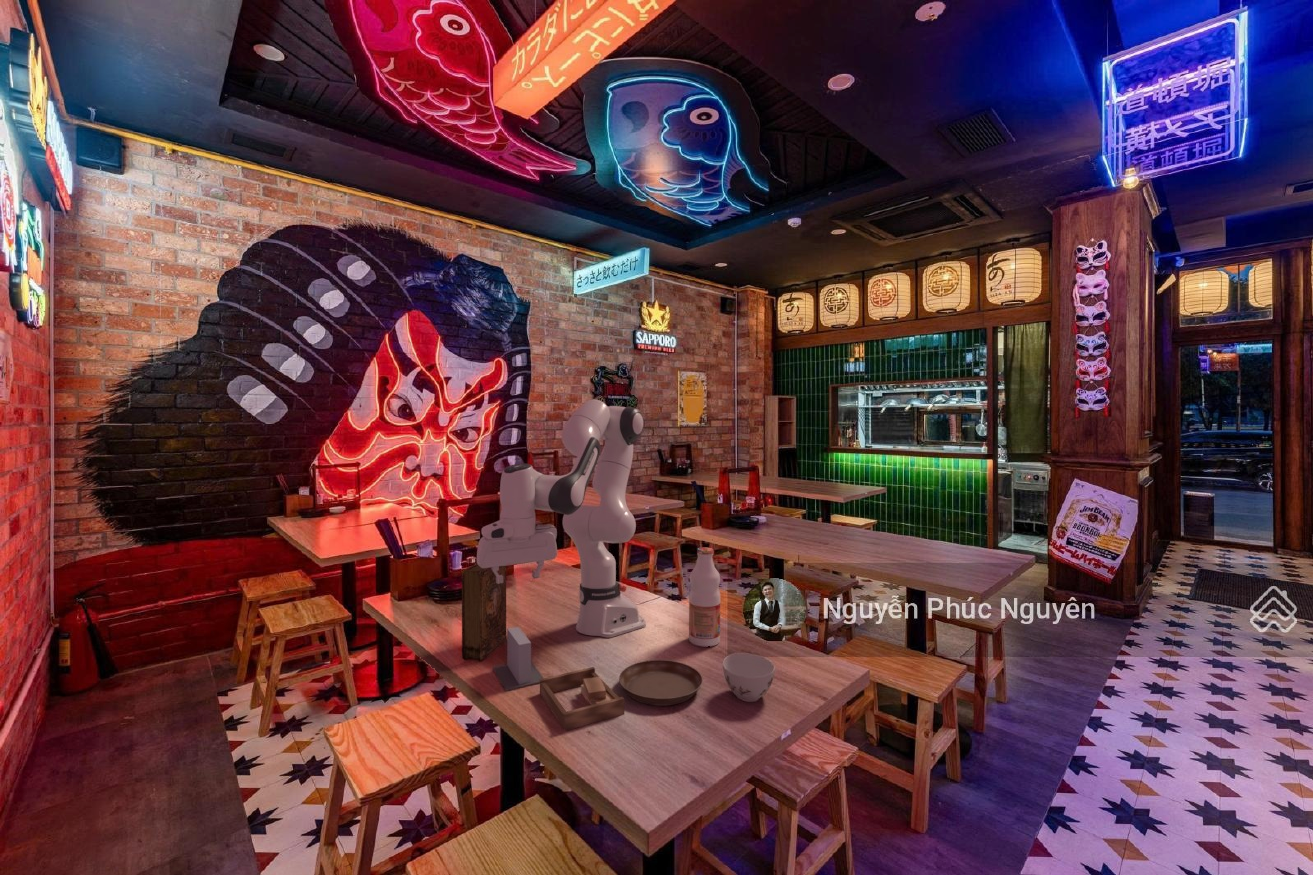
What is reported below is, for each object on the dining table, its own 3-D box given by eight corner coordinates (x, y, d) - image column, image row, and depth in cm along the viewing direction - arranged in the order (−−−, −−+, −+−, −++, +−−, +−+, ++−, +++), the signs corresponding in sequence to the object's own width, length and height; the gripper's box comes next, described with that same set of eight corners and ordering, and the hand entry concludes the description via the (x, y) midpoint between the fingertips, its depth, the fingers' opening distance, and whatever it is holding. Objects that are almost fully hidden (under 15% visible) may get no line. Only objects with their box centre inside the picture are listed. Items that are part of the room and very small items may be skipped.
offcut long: (596, 691, 134) (596, 681, 134) (613, 709, 125) (613, 699, 125) (581, 695, 132) (580, 684, 132) (597, 714, 123) (597, 703, 123)
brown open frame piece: (593, 680, 138) (593, 666, 138) (624, 713, 122) (624, 698, 122) (539, 693, 131) (539, 679, 131) (565, 730, 115) (565, 714, 115)
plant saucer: (655, 663, 148) (655, 651, 148) (718, 687, 135) (718, 674, 135) (601, 692, 132) (601, 679, 132) (667, 722, 119) (667, 708, 119)
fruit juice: (683, 638, 165) (683, 547, 164) (709, 633, 169) (710, 544, 168) (698, 649, 157) (699, 554, 156) (726, 644, 161) (727, 550, 160)
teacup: (748, 715, 122) (748, 680, 122) (711, 692, 132) (711, 660, 132) (792, 696, 131) (792, 663, 130) (754, 676, 141) (755, 646, 140)
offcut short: (599, 684, 132) (599, 676, 132) (605, 698, 125) (605, 690, 125) (583, 687, 130) (583, 679, 130) (588, 701, 124) (588, 692, 124)
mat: (529, 660, 149) (529, 659, 149) (545, 682, 137) (545, 680, 137) (492, 668, 144) (492, 666, 144) (505, 691, 132) (505, 689, 132)
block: (518, 663, 147) (518, 626, 146) (531, 681, 136) (531, 642, 136) (507, 665, 145) (507, 628, 145) (519, 684, 135) (519, 645, 134)
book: (491, 637, 165) (491, 556, 164) (508, 639, 163) (508, 557, 163) (461, 661, 149) (461, 571, 148) (480, 663, 147) (479, 572, 147)
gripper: (552, 521, 147) (553, 571, 148) (475, 528, 137) (475, 582, 138) (560, 525, 142) (560, 577, 142) (480, 533, 132) (480, 589, 132)
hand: (518, 580), depth 140 cm, fingers open, 8 cm apart
